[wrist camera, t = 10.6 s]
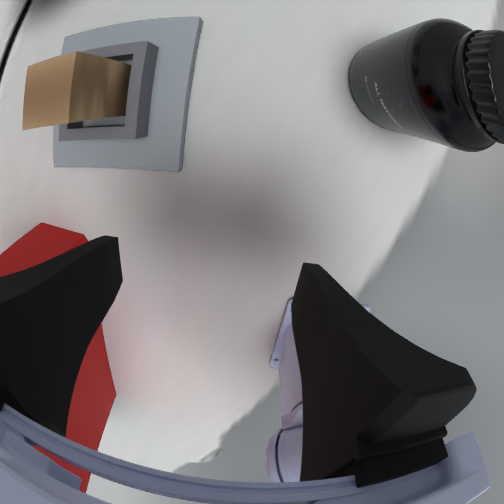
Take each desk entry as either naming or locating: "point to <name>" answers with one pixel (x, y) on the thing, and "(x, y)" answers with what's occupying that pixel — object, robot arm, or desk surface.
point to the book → (95, 360)
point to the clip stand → (136, 97)
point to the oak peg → (74, 90)
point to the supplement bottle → (435, 84)
